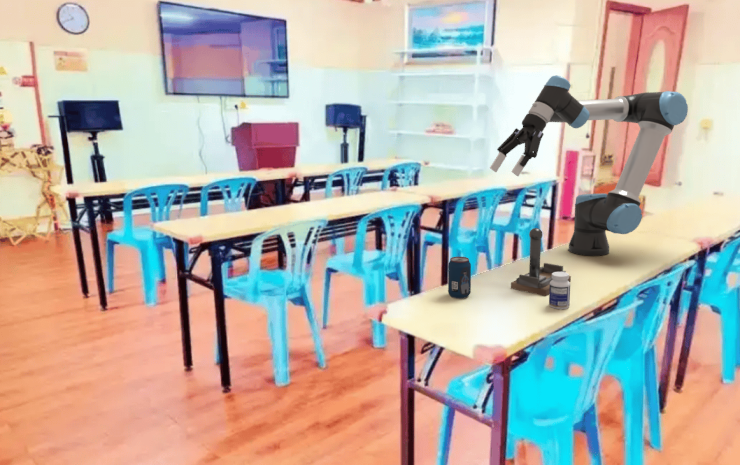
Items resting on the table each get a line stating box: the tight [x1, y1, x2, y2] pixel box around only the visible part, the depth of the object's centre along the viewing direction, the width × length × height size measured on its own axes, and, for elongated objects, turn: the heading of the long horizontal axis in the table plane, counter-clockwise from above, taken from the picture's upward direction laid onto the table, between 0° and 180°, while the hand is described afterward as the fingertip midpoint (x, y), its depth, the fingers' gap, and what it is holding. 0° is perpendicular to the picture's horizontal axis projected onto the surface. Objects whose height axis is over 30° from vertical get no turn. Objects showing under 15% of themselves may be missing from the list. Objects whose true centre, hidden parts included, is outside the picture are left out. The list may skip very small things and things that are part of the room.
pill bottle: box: [548, 272, 571, 310], centre depth 162 cm, size 6×6×10 cm
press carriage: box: [526, 227, 546, 283], centre depth 176 cm, size 5×6×18 cm
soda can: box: [447, 256, 472, 300], centre depth 173 cm, size 7×7×12 cm
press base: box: [510, 262, 572, 297], centre depth 182 cm, size 18×13×5 cm
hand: (503, 172), depth 187 cm, fingers open, 13 cm apart
